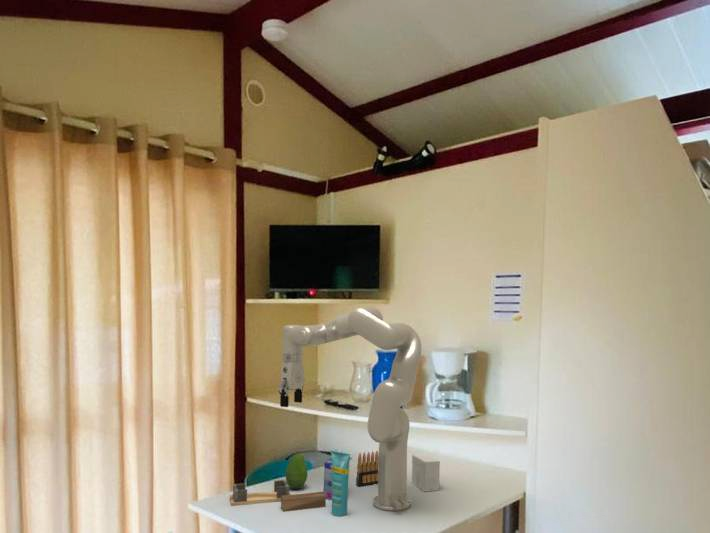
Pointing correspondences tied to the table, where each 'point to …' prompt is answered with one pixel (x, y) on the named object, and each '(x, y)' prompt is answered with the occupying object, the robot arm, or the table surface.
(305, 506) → the slat
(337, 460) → the tube
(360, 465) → the ammunition clip
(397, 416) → the robot arm
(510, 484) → the table surface
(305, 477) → the avocado
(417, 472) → the skincare box
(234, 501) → the rail
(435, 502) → the table surface
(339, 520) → the table surface
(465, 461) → the table surface
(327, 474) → the ink cartridge box
